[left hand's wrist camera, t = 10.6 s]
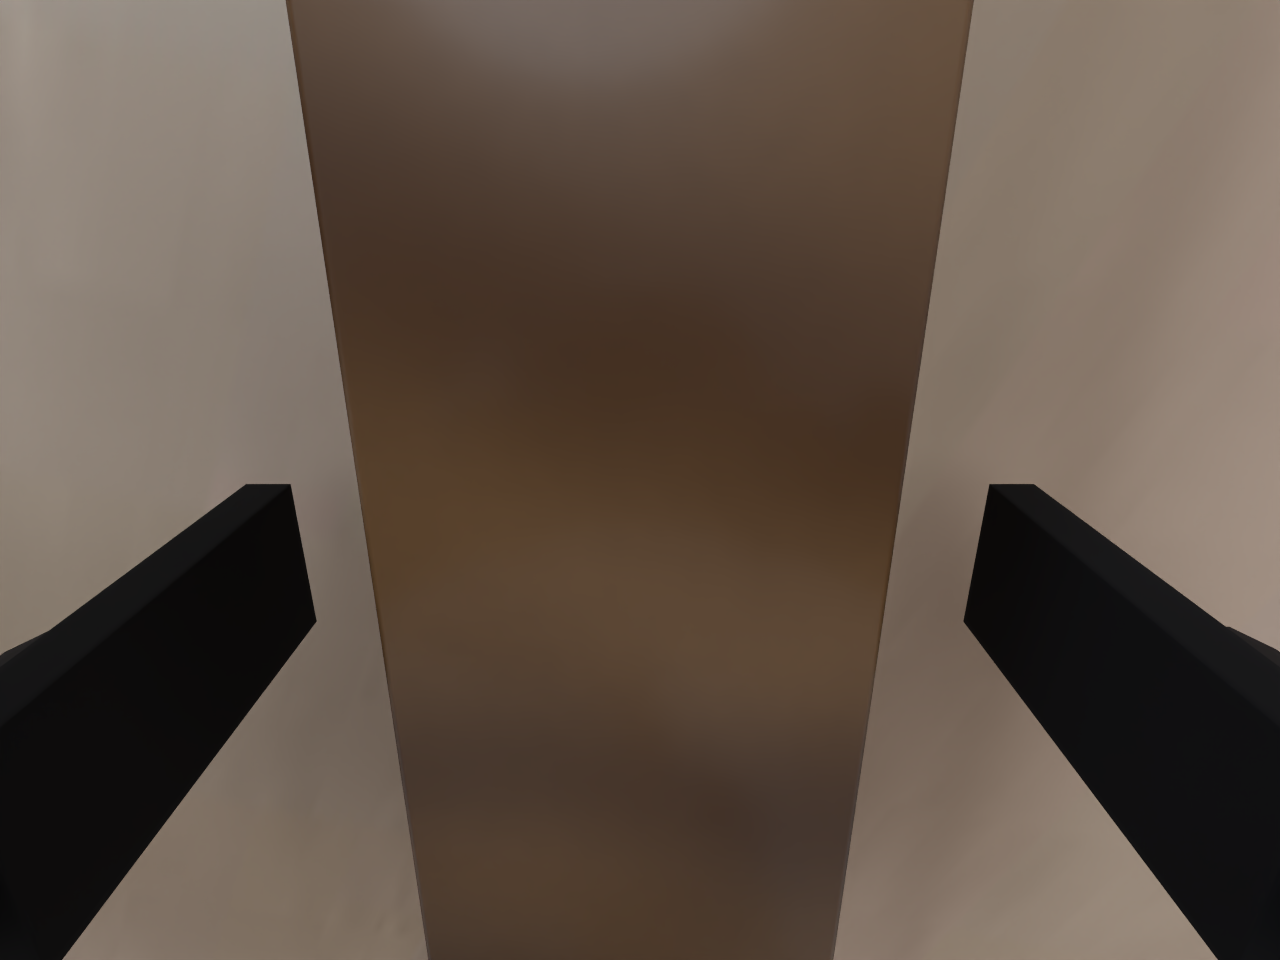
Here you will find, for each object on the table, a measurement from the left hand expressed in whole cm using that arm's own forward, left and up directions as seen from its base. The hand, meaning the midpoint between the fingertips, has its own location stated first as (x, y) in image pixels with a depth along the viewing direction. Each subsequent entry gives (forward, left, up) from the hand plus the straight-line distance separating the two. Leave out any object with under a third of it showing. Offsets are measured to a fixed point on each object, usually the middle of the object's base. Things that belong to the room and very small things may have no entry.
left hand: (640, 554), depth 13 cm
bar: (+33, +15, -3) cm, 36 cm away
